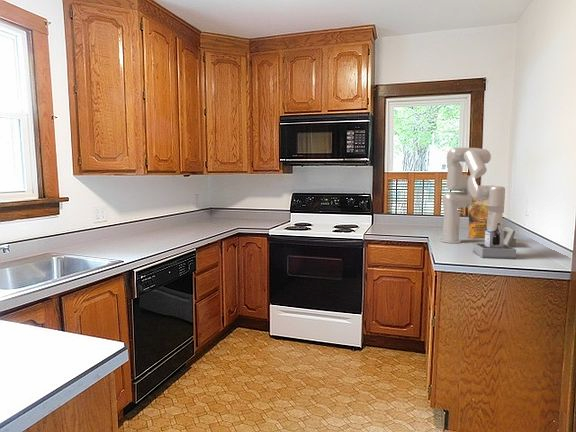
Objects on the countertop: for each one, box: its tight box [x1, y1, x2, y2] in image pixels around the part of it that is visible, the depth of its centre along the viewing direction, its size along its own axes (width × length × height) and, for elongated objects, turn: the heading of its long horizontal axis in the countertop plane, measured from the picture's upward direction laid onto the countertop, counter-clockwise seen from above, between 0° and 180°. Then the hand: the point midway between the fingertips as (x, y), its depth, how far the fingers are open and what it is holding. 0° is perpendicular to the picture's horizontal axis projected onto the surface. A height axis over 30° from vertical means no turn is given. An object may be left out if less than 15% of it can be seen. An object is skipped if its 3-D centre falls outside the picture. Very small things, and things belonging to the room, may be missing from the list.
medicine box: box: [484, 230, 504, 247], centre depth 205 cm, size 8×4×9 cm, turn 96°
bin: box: [472, 242, 517, 260], centre depth 206 cm, size 16×16×5 cm
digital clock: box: [502, 226, 517, 248], centre depth 236 cm, size 16×9×11 cm, turn 153°
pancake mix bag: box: [467, 197, 489, 239], centre depth 264 cm, size 7×19×28 cm, turn 97°
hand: (494, 243), depth 206 cm, fingers closed on medicine box, 5 cm apart
